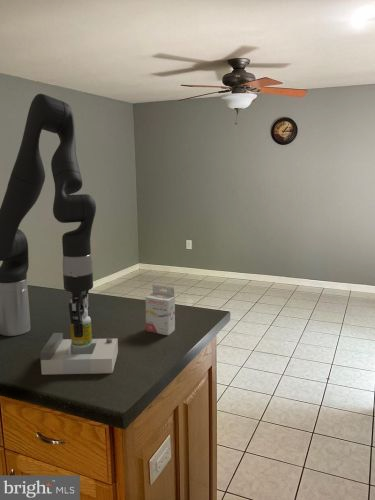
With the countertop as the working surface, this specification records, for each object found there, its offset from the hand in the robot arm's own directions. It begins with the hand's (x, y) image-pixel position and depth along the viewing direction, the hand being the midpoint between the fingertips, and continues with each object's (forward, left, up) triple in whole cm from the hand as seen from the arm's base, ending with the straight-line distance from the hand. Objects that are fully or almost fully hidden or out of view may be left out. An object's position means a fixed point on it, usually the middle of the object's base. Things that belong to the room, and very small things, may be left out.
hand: (81, 332), depth 114 cm
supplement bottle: (0, 0, -4) cm, 4 cm away
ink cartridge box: (+21, +21, -9) cm, 31 cm away
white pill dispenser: (0, 0, -9) cm, 9 cm away
